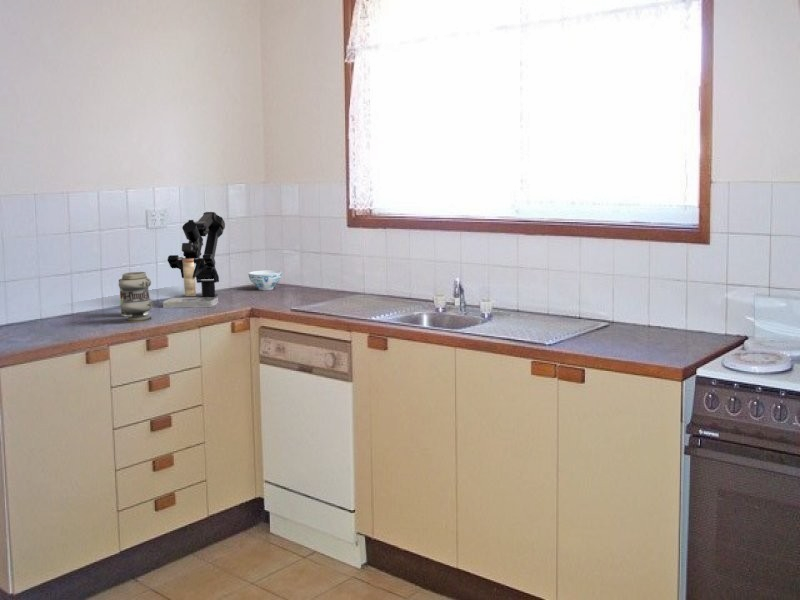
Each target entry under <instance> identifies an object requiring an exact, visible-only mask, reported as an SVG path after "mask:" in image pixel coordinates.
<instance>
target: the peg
mask: <svg viewBox="0 0 800 600" xmlns="http://www.w3.org/2000/svg"><path fill="white" fill-rule="evenodd" d="M182 262H183V274H184V278H183V286H184V297H195V296H197V291H196V277H195V278H194V277H193V274H194V270H195V264H194V259H193V258H186V259H182Z"/></svg>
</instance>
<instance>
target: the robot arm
mask: <svg viewBox="0 0 800 600" xmlns="http://www.w3.org/2000/svg"><path fill="white" fill-rule="evenodd" d="M225 229H226V222H225V220H224V218H223V217H222V216H219V215H218V214H217V213H216V212H214V211H204V212H203V214H202V216H201V217H200V218H199V219H198V220H197V221H194V219H188V220H187V222H185V223H184V224H183V225H182V231H183V233H184V236H185V238H186V240H187V241H188V242H183V243H181V251H182V252H183V257H182V256H179V254H173V255H172V254H171V255H168V257H167V263H168V265H169V267H170V268H171V269H178V270H180V275H181V279H184V274H183V262H182V259H186V258H193V259H194V274H193V277H194V278H195V281H196V283H197V284H201V285H200V287H201V294H200V295H199V298H202V297H217V296H218V295H219V294H218V293H216V284H215V283H219V282H220V278H219V277H220V276H219V274H218V271H217V269H216V259H215V257H216V252H217V251H216V250H217V246H218V239H219V238H220V237H221V236H222V235H223V233H224V230H225ZM203 237H206V241H205V247H204V250H203V251H204V252H203V254H202V247H203V246H204V238H203ZM201 256H202V257H201Z"/></svg>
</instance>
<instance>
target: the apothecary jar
mask: <svg viewBox="0 0 800 600" xmlns="http://www.w3.org/2000/svg"><path fill="white" fill-rule="evenodd" d="M146 273H147V272H146V271H130V272H124V273H123V274H122V277H121V278H120V279H121V280H120V281H119V280H118V287H119V289H120V288H121V289H122V291H123V302H122V303H121V302H120V306H119V308H120V310H121V309H122V310H123V311H124V312H126V313H130V314H132V316H131V317H126V318H125V319H124V322H125V323H143V322H149V321H151V320H152V317H151V316H149V315H143V314H144V313H145V312H147V311H148V312H149V311H151V310H152V308H153V307H154V301H153V300H152V299H151V298H150V292H149V291H150V290H149V287H150V286H151V285H152V281H151V279H150V278H149V277H147V274H146Z"/></svg>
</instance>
